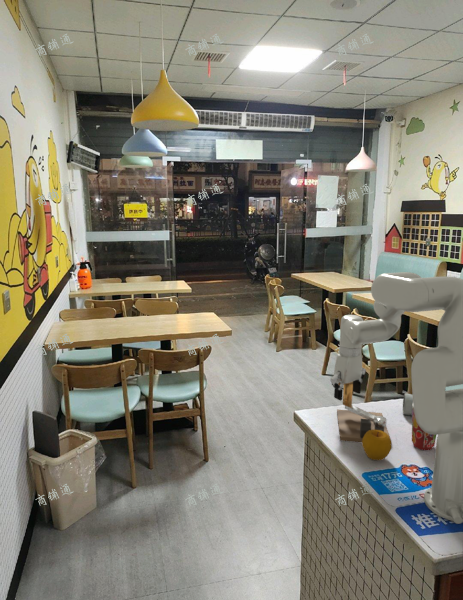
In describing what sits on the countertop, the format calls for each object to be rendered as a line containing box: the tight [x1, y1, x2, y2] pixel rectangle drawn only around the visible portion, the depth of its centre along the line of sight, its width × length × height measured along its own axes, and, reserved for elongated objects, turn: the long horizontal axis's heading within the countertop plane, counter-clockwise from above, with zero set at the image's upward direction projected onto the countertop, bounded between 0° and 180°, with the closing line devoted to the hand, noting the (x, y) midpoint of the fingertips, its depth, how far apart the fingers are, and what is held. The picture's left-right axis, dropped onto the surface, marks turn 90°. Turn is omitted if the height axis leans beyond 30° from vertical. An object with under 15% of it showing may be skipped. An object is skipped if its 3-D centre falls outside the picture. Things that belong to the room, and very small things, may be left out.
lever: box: [342, 381, 387, 427], centre depth 148 cm, size 18×4×10 cm, turn 34°
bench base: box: [336, 409, 391, 444], centre depth 149 cm, size 20×16×7 cm
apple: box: [361, 430, 392, 461], centre depth 131 cm, size 9×8×9 cm
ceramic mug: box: [402, 392, 413, 416], centre depth 160 cm, size 11×8×8 cm
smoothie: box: [411, 404, 437, 451], centre depth 136 cm, size 8×8×20 cm
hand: (347, 395), depth 154 cm, fingers open, 9 cm apart
